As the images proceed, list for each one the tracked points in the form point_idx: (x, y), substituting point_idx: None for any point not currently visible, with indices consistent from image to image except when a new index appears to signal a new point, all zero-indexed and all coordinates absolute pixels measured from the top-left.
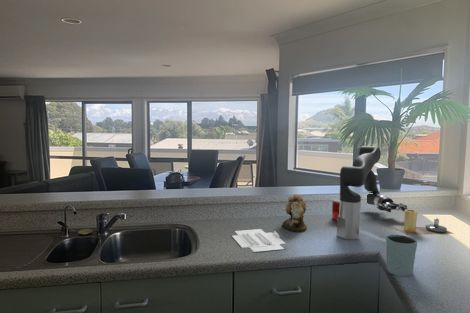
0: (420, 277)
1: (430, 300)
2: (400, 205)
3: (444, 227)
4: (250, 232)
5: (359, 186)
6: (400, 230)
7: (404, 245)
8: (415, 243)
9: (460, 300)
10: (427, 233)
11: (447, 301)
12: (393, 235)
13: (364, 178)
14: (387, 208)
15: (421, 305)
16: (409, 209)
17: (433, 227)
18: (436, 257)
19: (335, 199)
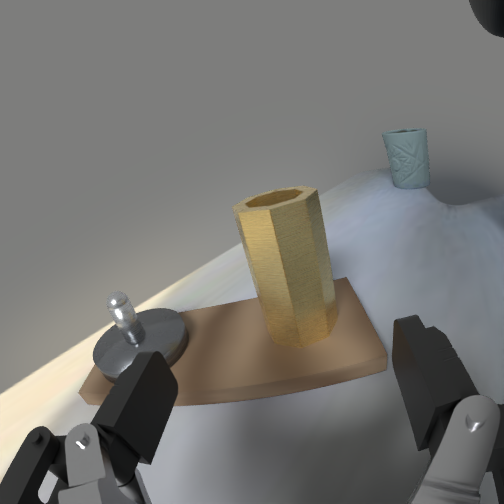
0: (385, 183)
1: (387, 170)
2: (89, 473)
3: (107, 334)
4: None
5: (496, 35)
6: (355, 318)
7: (402, 132)
8: (386, 132)
9: (358, 175)
10: (230, 308)
11: (371, 172)
12: (415, 132)
13: (471, 6)
14: (445, 338)
15: None
16: (261, 208)
17: (154, 331)
18: (326, 218)
19: None
